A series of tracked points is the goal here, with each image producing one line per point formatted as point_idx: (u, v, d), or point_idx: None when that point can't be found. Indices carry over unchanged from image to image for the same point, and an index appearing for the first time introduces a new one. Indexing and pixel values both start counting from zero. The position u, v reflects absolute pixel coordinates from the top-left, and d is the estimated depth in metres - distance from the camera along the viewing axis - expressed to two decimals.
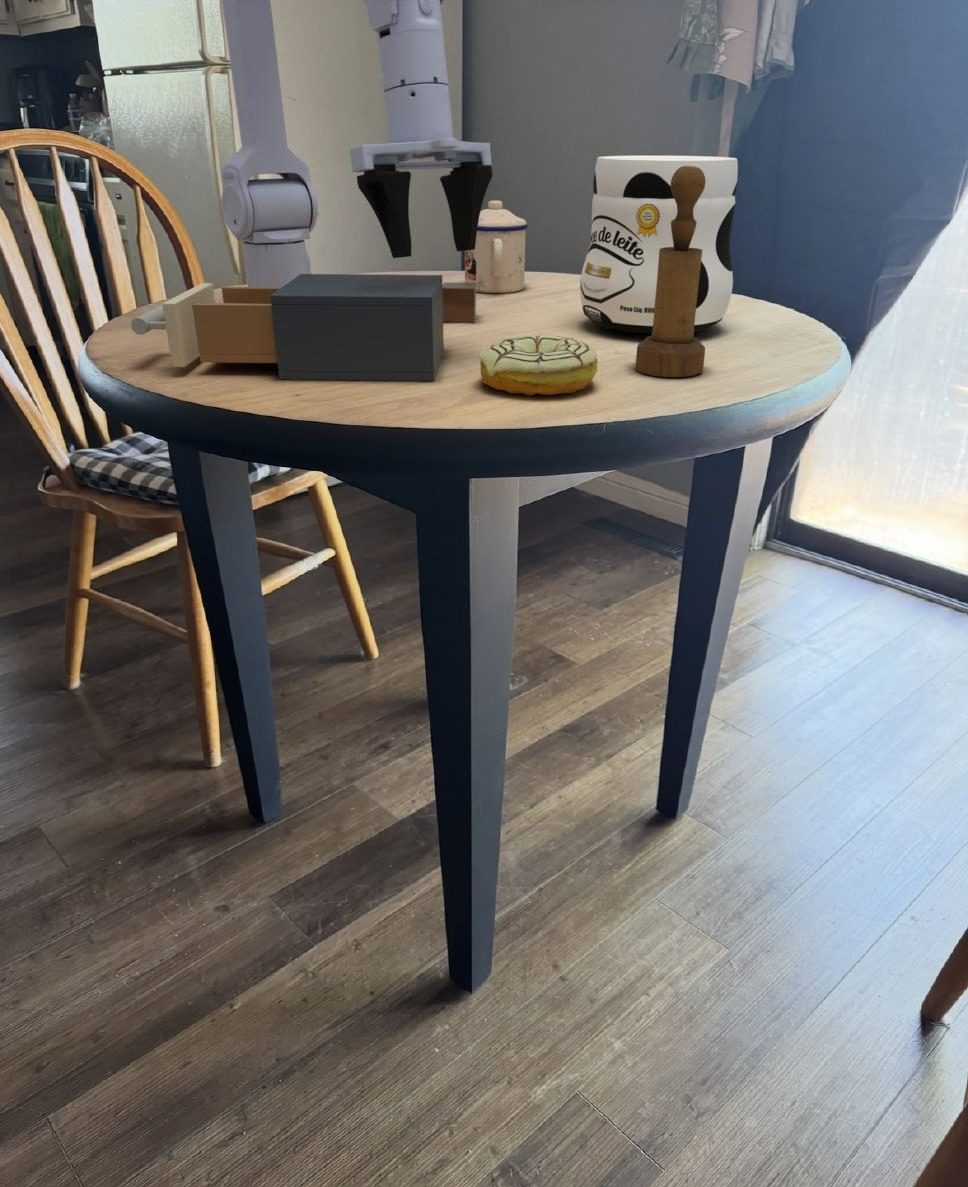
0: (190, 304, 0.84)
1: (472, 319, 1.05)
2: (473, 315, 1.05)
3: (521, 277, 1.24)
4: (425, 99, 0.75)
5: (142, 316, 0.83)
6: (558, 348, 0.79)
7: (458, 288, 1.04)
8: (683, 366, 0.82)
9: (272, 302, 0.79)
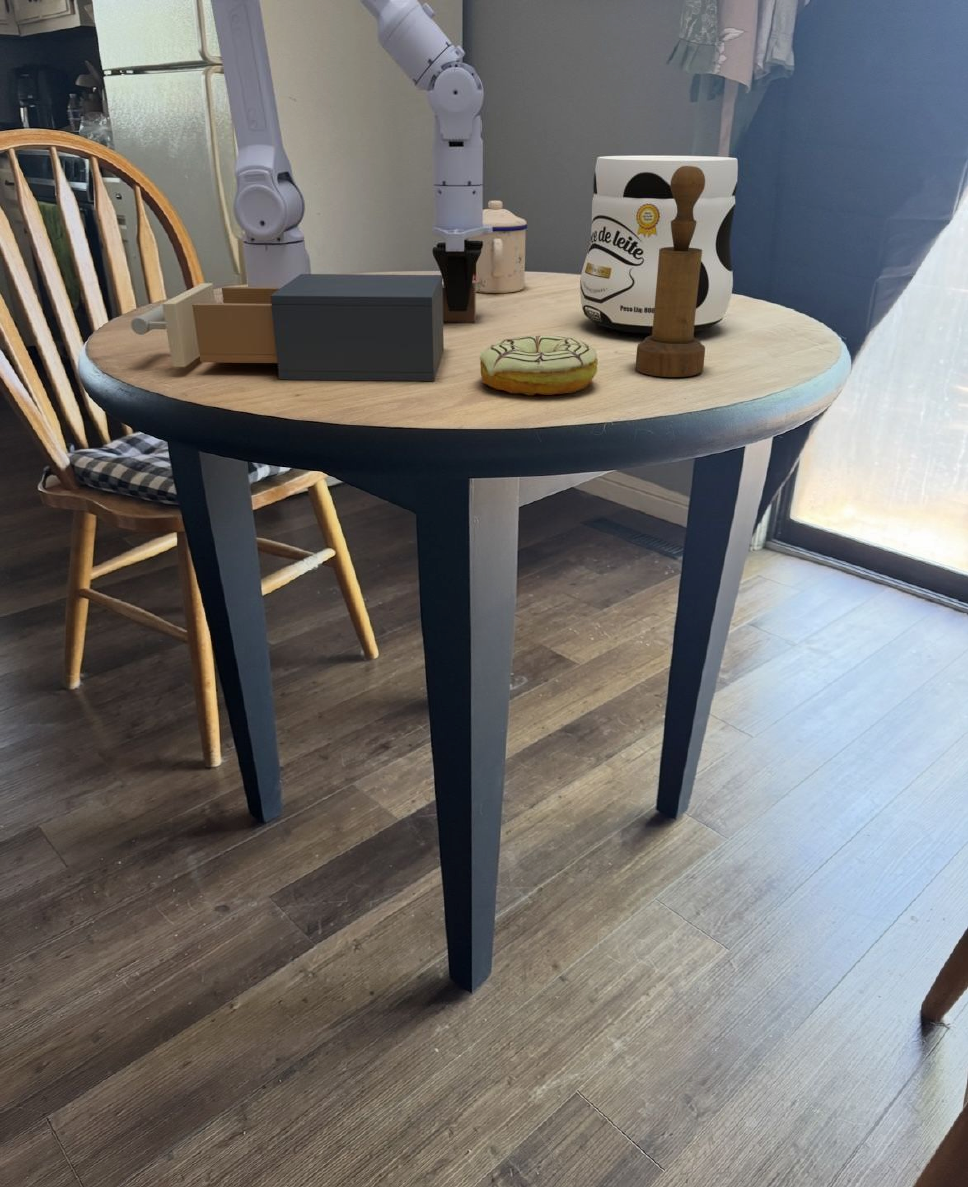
0: (190, 304, 0.84)
1: (472, 319, 1.06)
2: (473, 315, 1.05)
3: (521, 277, 1.24)
4: (480, 197, 1.00)
5: (142, 316, 0.83)
6: (558, 348, 0.79)
7: None
8: (683, 366, 0.82)
9: (272, 302, 0.79)
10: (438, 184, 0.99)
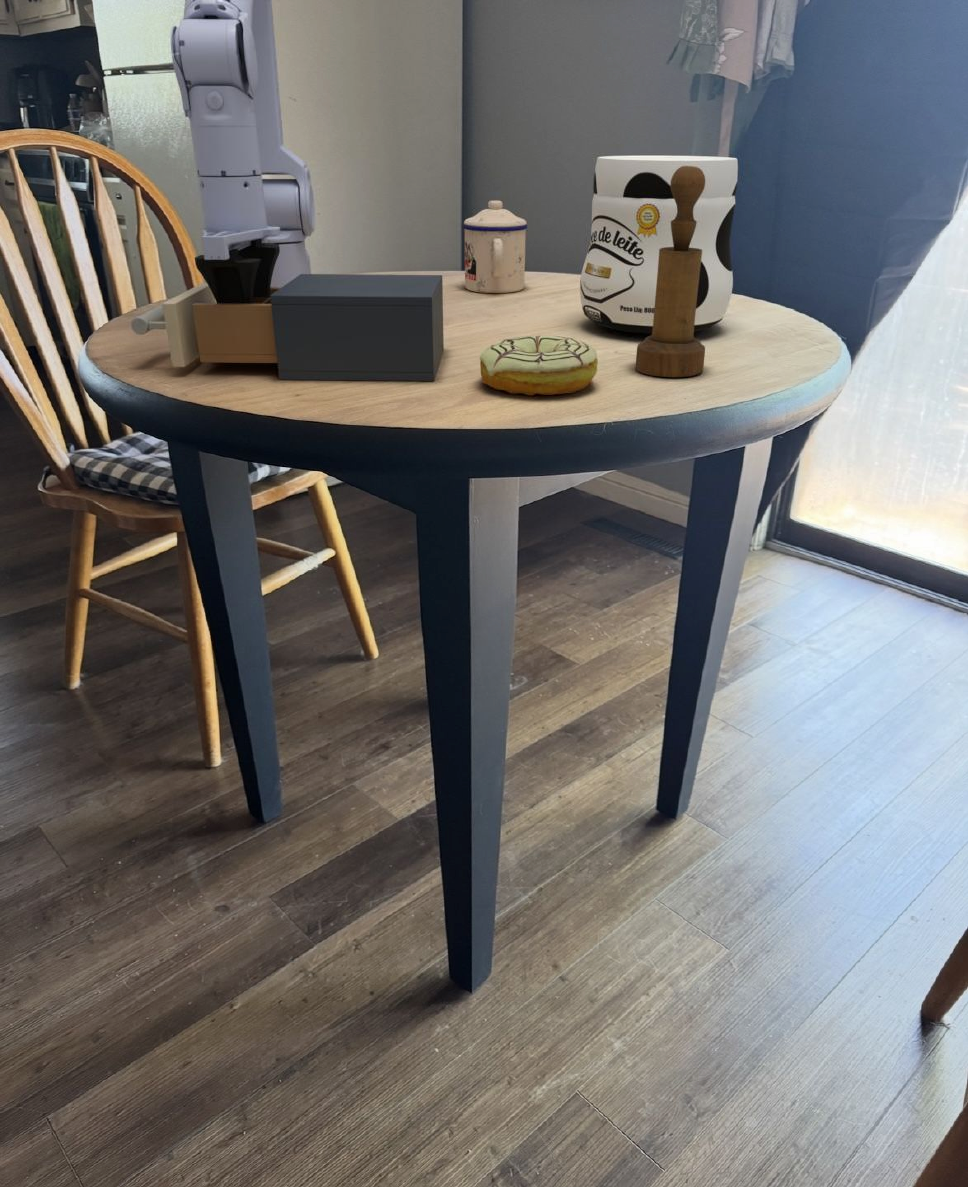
0: (190, 304, 0.84)
1: None
2: None
3: (521, 277, 1.24)
4: (256, 190, 0.79)
5: (142, 316, 0.83)
6: (558, 348, 0.79)
7: None
8: (683, 366, 0.82)
9: (272, 302, 0.79)
10: (200, 174, 0.78)
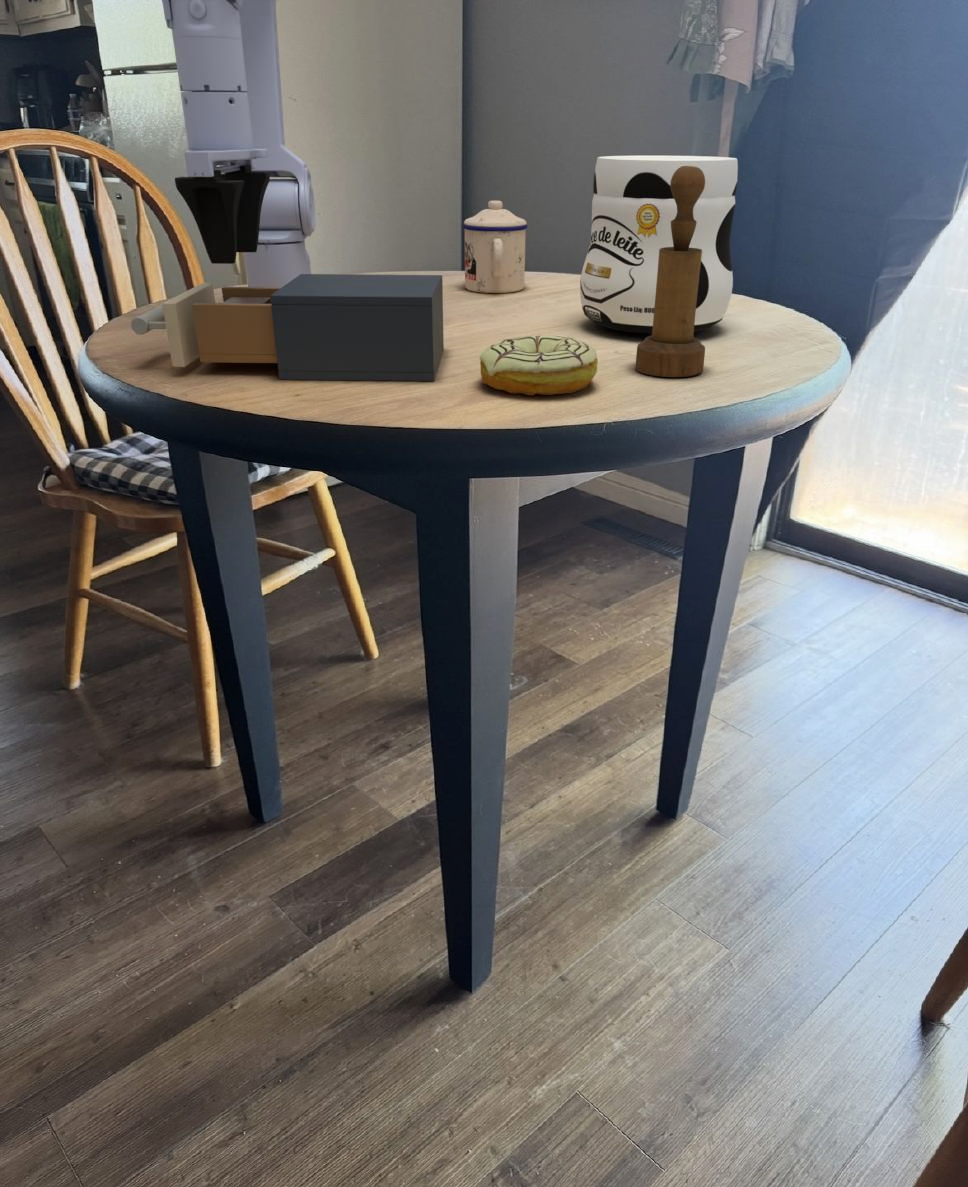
0: (190, 304, 0.84)
1: None
2: None
3: (521, 277, 1.24)
4: (242, 108, 0.76)
5: (142, 316, 0.83)
6: (558, 348, 0.79)
7: None
8: (683, 366, 0.82)
9: (272, 302, 0.79)
10: (183, 90, 0.75)
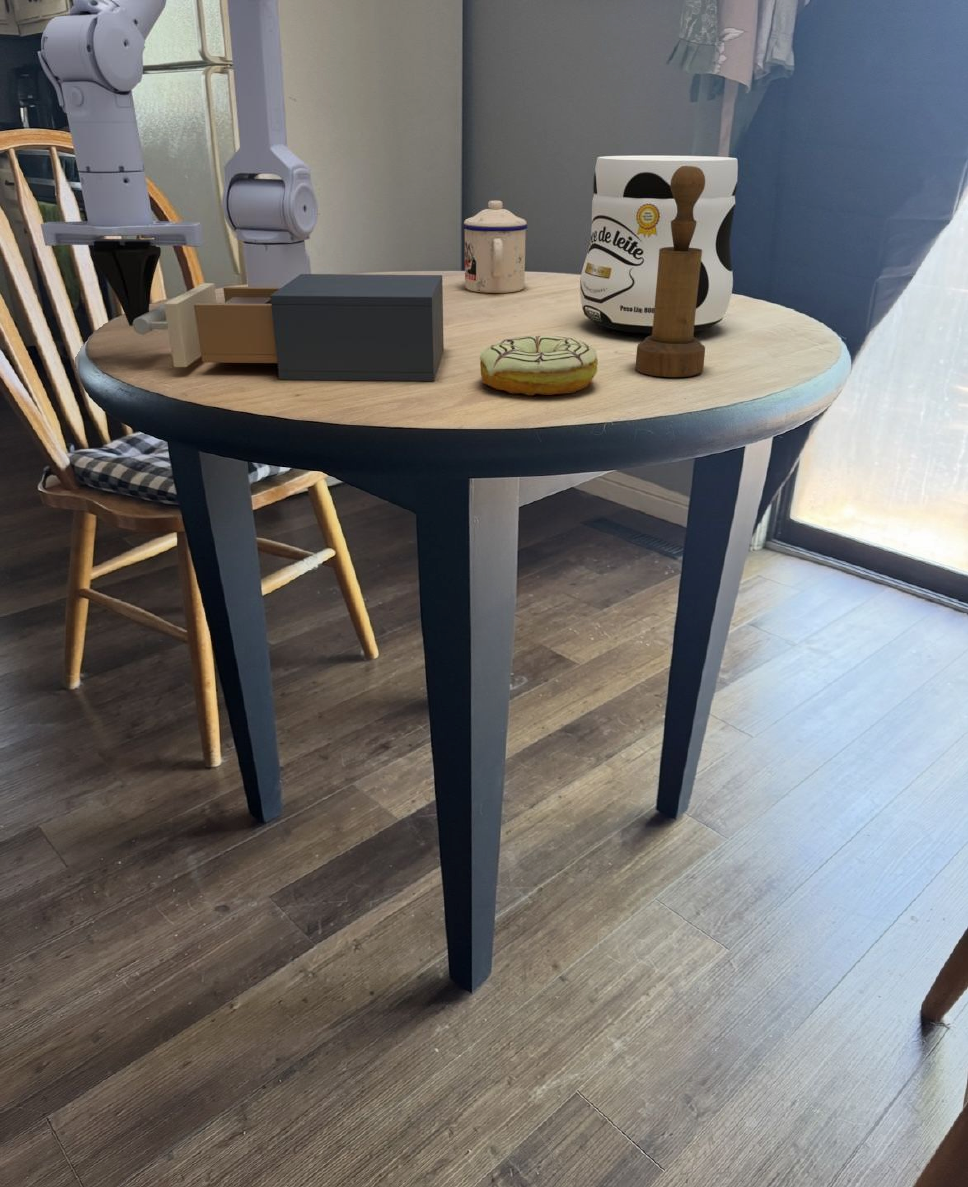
0: (192, 304, 0.84)
1: None
2: None
3: (521, 277, 1.24)
4: (90, 187, 0.78)
5: (144, 316, 0.83)
6: (558, 348, 0.79)
7: None
8: (683, 366, 0.82)
9: (272, 302, 0.79)
10: None
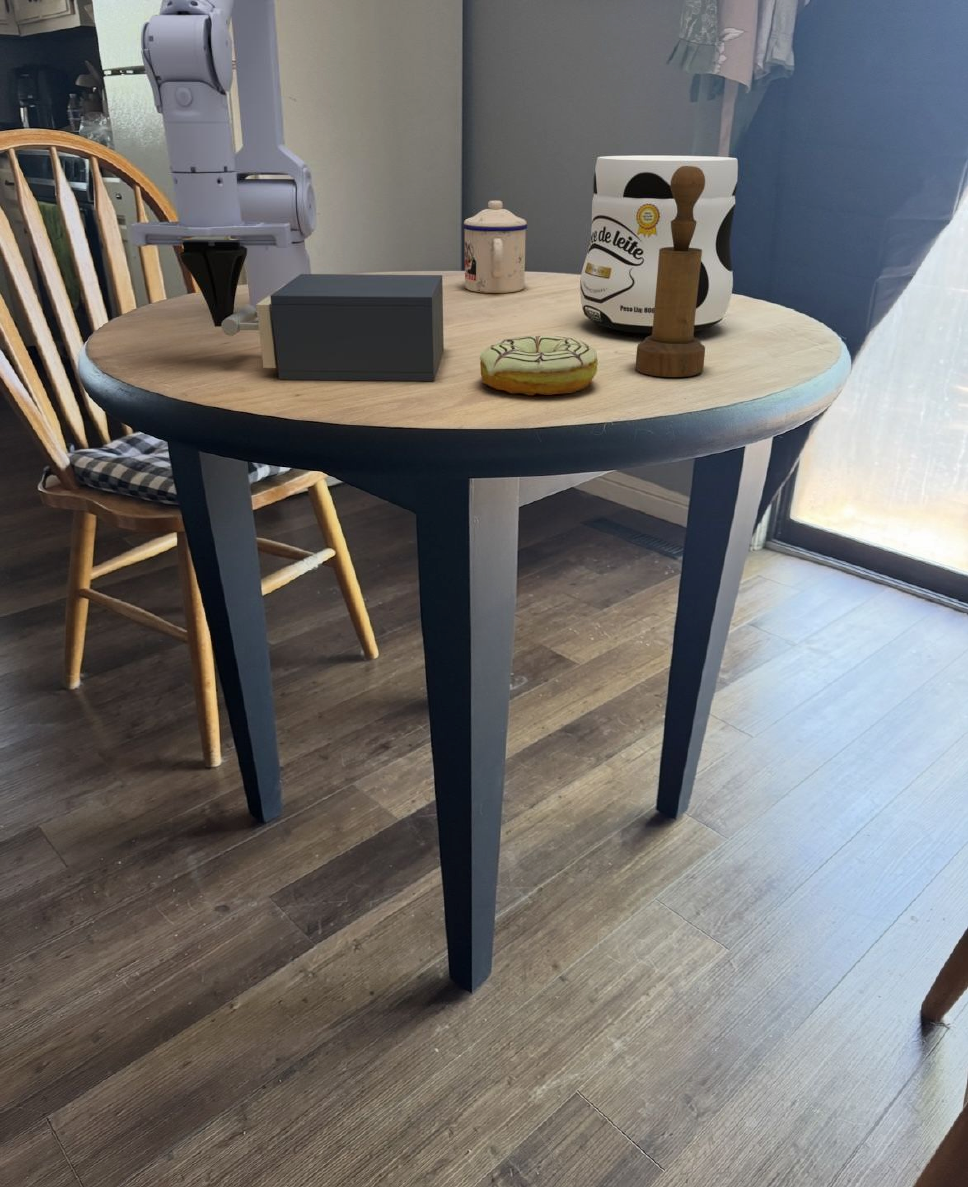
0: None
1: None
2: None
3: (521, 277, 1.24)
4: (183, 187, 0.78)
5: (232, 317, 0.83)
6: (558, 348, 0.79)
7: None
8: (683, 366, 0.82)
9: (272, 302, 0.79)
10: None
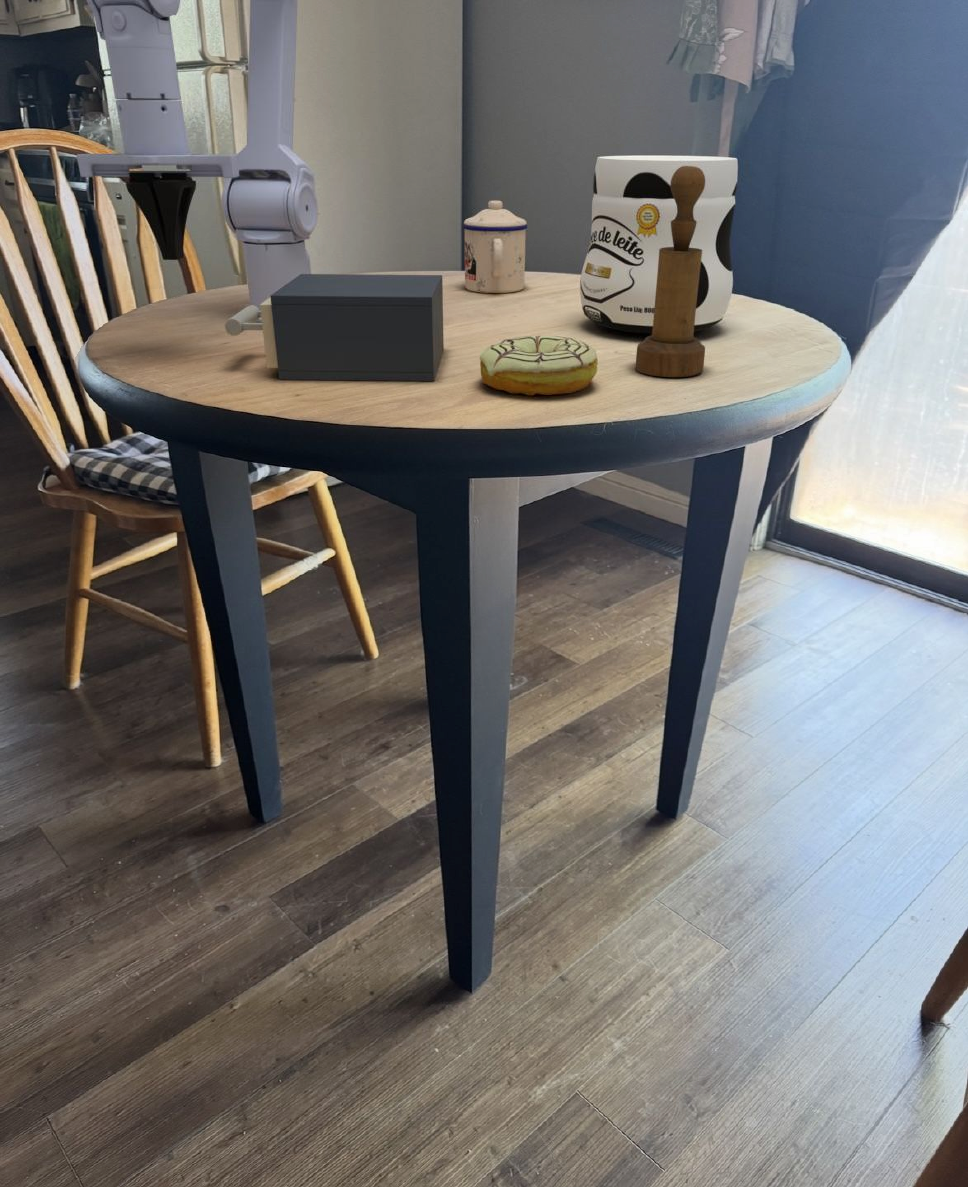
0: None
1: None
2: None
3: (521, 277, 1.24)
4: (127, 115, 0.78)
5: (236, 317, 0.83)
6: (558, 348, 0.79)
7: None
8: (683, 366, 0.82)
9: (272, 302, 0.79)
10: None
